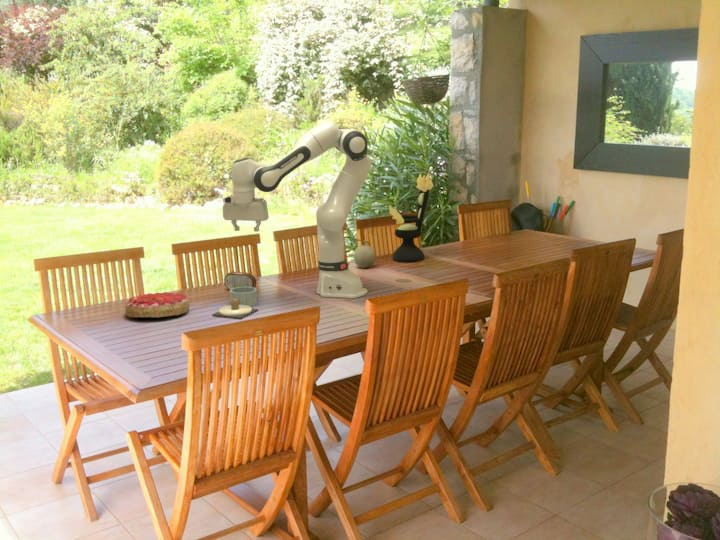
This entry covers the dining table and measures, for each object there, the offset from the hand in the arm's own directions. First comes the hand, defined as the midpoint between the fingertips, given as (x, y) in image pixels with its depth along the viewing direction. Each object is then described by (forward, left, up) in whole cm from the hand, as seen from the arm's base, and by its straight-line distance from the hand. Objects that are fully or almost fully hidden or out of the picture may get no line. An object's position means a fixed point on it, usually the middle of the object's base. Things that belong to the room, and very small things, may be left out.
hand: (246, 231), depth 324 cm
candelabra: (-35, -103, -30) cm, 112 cm away
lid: (-6, +20, -29) cm, 36 cm away
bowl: (-1, +6, -30) cm, 30 cm away
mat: (-6, +20, -30) cm, 37 cm away
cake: (+24, +32, -30) cm, 50 cm away
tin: (+13, -13, -30) cm, 35 cm away
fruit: (-20, -76, -30) cm, 84 cm away
